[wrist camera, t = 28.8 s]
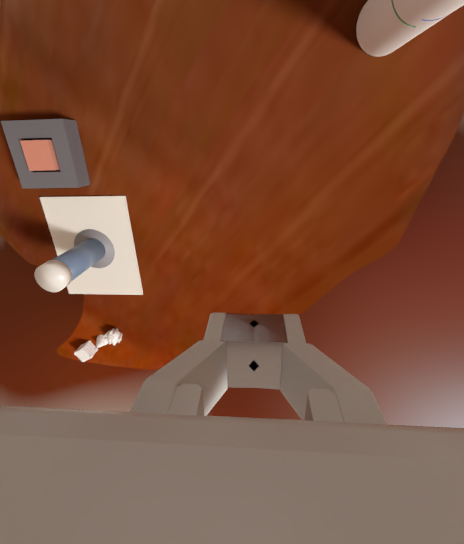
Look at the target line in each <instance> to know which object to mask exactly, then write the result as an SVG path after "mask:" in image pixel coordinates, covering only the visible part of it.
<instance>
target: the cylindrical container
mask: <svg viewBox="0 0 464 544" xmlns="http://www.w3.org/2000/svg"><path fill="white" fill-rule="evenodd" d="M463 5H464V0H368V1H367V2H366V3H365V5H364V6H363V8H362V10H361V12H360V14H359V17H358V20H357V26H356V34H357V40H358V43H359V45H360V47H361V48H362V49H363V51H364V52H366V53H367V54H369V55H371V56H378V57H380V56H385V55H387V54H390V53H391V52H393V51H395V50H396V49H398V48H399V47H401V46H402V45H404V44H405V43H407V42H408V41H410V40H411V39H413V38H414V37H416V36H417V35H419V34H420V33H422V32H423V31H425V30H426V29H428V28H429V27H431V26H432V25H434V24H435V23H437V22H438V21H440V20H441V19H443V18H444V17H446V16H447V15H449V14H450V13H452V12H453V11H455V10H456V9H458V8H459V7H461V6H463Z"/></svg>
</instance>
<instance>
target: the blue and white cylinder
mask: <svg viewBox="0 0 464 544" xmlns="http://www.w3.org/2000/svg"><path fill="white" fill-rule="evenodd" d="M104 255H105V247H104V245H103V244H102V243H101V242H100V241H99V240H97V239H94V238H89V239H87V240H85V241H83V242H82V243H80V244H78V245H76V246H75V247H73V248H71V249H70V250H68V251H66V252H64V253H63V254H61V255H59V256H57V257H56V258H54V259H52V260H50V261H48V262H46V263H44V264H42V265H41V266H39V267H38V268H37V269H36V270H35V279H36V281H37V283H38V284H39V285H40V286H41V287H42V288H43V289H45V290H47V291H50V292H58V291H61V290H62V289H63V288H65V287H66V286H67V285H68V284H70V283H71V281H73V280H74V279H75V278H77V277H78V276H79V275H81V274H82V273H83V272H84V271H86V270H87V269H88V268H90V267H91V266H92V265H94V264H95V263H96V262H98V261H99V260H100V259H102V258H103V257H104Z"/></svg>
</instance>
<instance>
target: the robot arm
mask: <svg viewBox="0 0 464 544" xmlns="http://www.w3.org/2000/svg"><path fill="white" fill-rule="evenodd" d="M227 387H243V388H245V387H246V388H248V387H249V388H253V387H254V388H266V389H280V391H281V392H282V394H283V395H284V396H285V398H286V399H287V400H288V402H289V403H290V405H291V406H292V407H293V409H294V410H295V411H296V413H297V414H298V415H299V417H300V418H301V419H302V420H284V419H283V420H282V419H264V418H263V419H262V418H242V417H221V416H206V415H207V414H208V413H209V411H210V410H211V409H212V408H213V406H214V405H215V404H216V403H217V401H218V400H219V399H220V398H221V396H222V395H223V394H224V392H225V391H226V390H227ZM0 544H464V428H449V427H448V428H447V427H425V426H405V425H387V423H386V421H385V419H384V417H383V414H382V413H381V410H380V408H379V406H378V404H377V402H376V400H375V397H374V395H373V393H372V391H371V390H370V389H369V388H368V387H366V386H365V385H364V384H362V383H361V382H360V381H359V380H357V379H356V378H355V377H353V376H352V375H351V374H349V373H348V372H347V371H346V370H344V369H343V368H342V367H340V366H339V365H338V364H336V363H335V362H334V361H332V360H331V359H330V358H329V357H327V356H326V355H325V354H323V353H322V352H321V351H319V350H318V349H317V348H316V347H314V346H313V345H312V344H306V341H305V338H304V334H303V330H302V326H301V322H300V318H299V315H298V314H243V313H211V314H210V318H209V322H208V325H207V329H206V333H205V337H204V341H198V342H197V343H195V344H194V345H193V346H191V347H190V348H189V349H187V350H186V351H184V352H183V353H182V354H180V355H179V356H178V357H176V358H175V359H173V360H172V361H171V362H169V363H168V364H167V365H165V366H164V367H162V368H161V369H160V370H158V371H157V372H156V373H154V374H153V375H152V376H150V377H149V378H147V379H146V380H145V381H144V383H143V385H142V387H141V389H140V391H139V393H138V396H137V397H136V400H135V402H134V404H133V406H132V408H131V410H130V412H117V411H97V410H76V409H55V408H34V407H14V406H0Z"/></svg>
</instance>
